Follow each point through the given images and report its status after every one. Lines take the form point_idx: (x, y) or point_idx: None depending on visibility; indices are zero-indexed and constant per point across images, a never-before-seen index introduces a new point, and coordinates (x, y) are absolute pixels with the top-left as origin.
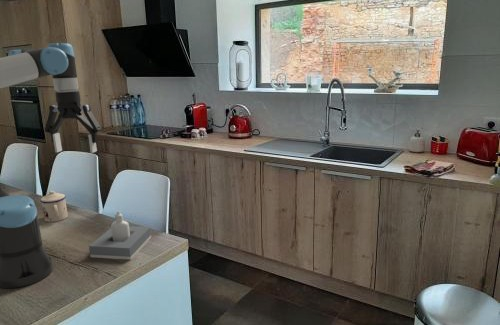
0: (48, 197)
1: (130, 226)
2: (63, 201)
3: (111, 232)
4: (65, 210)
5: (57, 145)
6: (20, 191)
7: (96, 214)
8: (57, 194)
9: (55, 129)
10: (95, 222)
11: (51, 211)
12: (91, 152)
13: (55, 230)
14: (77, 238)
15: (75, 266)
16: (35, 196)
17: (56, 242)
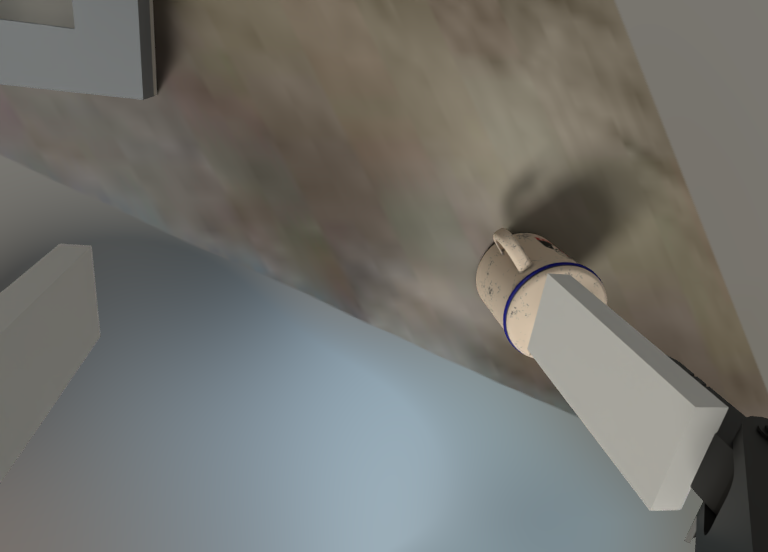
0: None
1: (39, 84)
2: (501, 305)
3: (102, 5)
4: (485, 289)
5: (580, 329)
6: None
7: (364, 314)
8: None
9: (736, 497)
10: (327, 235)
11: (531, 250)
12: (77, 247)
13: (465, 152)
14: (325, 67)
15: None
16: None
17: (401, 25)
